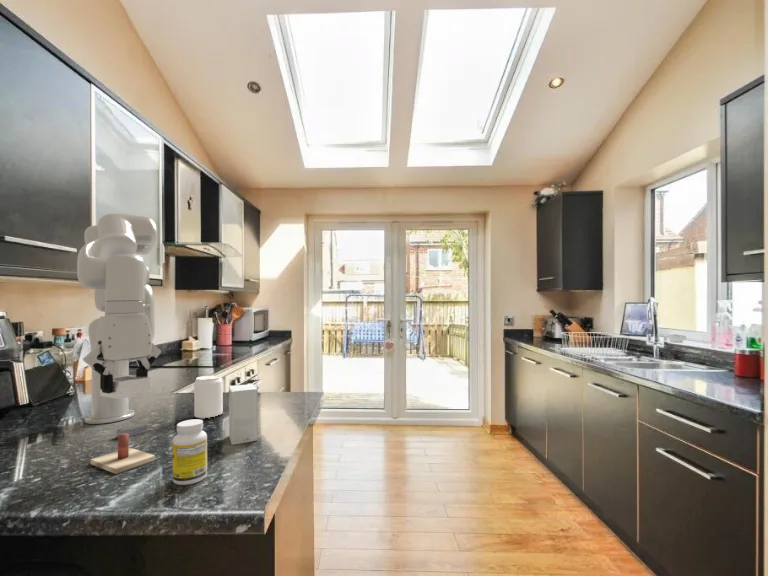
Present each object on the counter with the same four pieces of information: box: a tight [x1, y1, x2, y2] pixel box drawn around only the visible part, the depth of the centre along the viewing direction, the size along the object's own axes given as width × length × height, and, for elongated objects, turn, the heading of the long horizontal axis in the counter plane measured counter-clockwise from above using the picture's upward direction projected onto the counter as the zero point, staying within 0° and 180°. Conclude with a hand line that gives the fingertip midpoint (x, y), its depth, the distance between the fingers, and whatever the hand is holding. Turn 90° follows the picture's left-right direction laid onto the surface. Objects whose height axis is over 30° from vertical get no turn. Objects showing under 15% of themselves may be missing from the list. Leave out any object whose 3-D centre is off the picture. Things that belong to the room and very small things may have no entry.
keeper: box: [89, 433, 156, 475], centre depth 86 cm, size 11×8×6 cm
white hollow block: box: [100, 374, 151, 399], centre depth 87 cm, size 8×6×4 cm
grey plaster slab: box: [116, 422, 148, 438], centre depth 105 cm, size 3×6×2 cm, turn 149°
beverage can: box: [193, 374, 224, 420], centre depth 122 cm, size 8×8×12 cm
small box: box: [228, 383, 259, 446], centre depth 100 cm, size 8×6×13 cm
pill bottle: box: [172, 418, 208, 486], centre depth 77 cm, size 6×6×11 cm
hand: (124, 388), depth 87 cm, fingers closed on white hollow block, 6 cm apart
